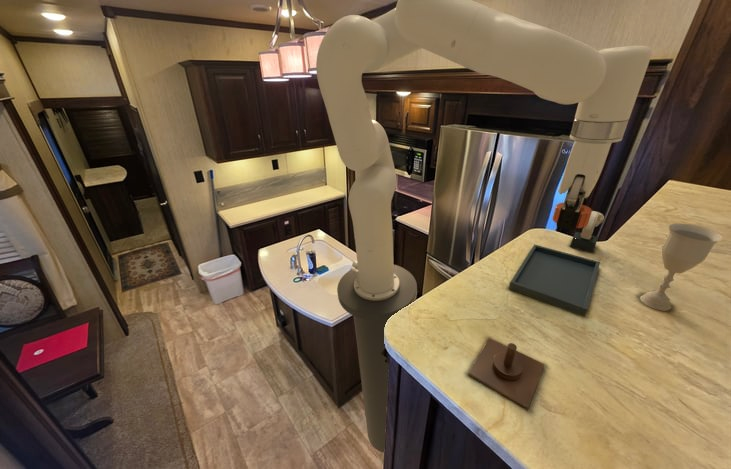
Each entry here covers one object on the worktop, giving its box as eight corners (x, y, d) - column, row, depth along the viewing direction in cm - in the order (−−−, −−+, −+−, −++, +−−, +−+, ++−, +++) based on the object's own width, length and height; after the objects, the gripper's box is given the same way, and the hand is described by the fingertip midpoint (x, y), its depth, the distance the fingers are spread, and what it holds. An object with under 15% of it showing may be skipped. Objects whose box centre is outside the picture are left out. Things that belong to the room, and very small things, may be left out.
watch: (595, 243, 86) (608, 209, 81) (591, 255, 81) (604, 220, 76) (573, 237, 89) (584, 205, 84) (568, 249, 84) (579, 215, 79)
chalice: (626, 296, 66) (660, 227, 58) (646, 288, 68) (682, 220, 59) (664, 317, 60) (708, 244, 52) (685, 308, 62) (731, 236, 53)
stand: (467, 374, 52) (471, 350, 49) (488, 339, 59) (493, 316, 55) (527, 409, 46) (537, 385, 43) (543, 366, 53) (552, 341, 49)
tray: (508, 288, 71) (510, 282, 70) (532, 250, 85) (534, 244, 84) (584, 316, 62) (587, 309, 61) (597, 268, 76) (600, 261, 75)
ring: (549, 223, 59) (552, 209, 58) (556, 212, 63) (559, 200, 61) (584, 231, 55) (589, 217, 54) (589, 219, 59) (594, 206, 58)
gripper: (580, 121, 58) (558, 203, 67) (561, 138, 47) (537, 233, 56) (629, 123, 54) (597, 211, 62) (619, 141, 43) (583, 245, 51)
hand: (569, 220), depth 59 cm, fingers closed on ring, 6 cm apart
